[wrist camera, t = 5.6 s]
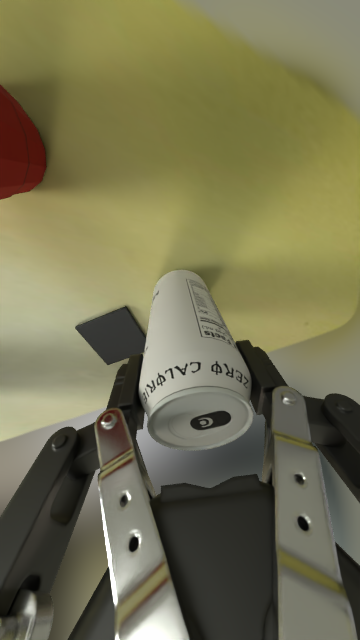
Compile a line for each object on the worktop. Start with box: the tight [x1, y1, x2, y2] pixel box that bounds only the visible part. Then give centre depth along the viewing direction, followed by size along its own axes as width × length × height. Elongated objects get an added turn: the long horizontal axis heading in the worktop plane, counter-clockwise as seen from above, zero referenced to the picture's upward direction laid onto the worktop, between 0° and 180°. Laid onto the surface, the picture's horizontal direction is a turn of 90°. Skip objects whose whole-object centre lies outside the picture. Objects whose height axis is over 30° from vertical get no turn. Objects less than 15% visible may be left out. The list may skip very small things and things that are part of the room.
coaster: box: [75, 306, 146, 365], centre depth 24 cm, size 7×7×1 cm
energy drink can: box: [138, 270, 253, 451], centre depth 15 cm, size 6×6×15 cm
